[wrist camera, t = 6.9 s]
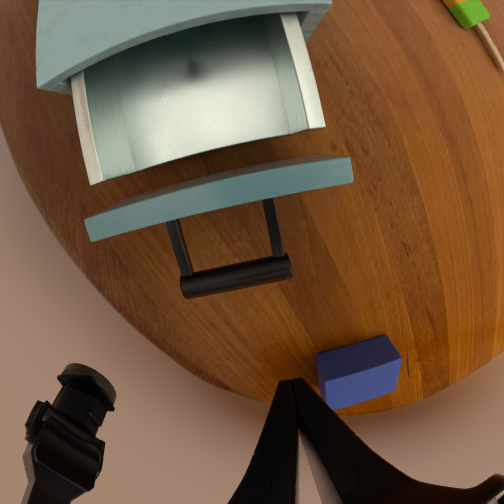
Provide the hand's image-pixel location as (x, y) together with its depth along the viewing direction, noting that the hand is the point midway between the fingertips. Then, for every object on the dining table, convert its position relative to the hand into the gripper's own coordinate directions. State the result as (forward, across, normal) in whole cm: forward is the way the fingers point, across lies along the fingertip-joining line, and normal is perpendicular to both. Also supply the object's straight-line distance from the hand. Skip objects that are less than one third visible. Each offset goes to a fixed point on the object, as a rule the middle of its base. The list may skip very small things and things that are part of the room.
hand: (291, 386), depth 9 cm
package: (+12, -7, +12) cm, 18 cm away
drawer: (+11, +2, -10) cm, 15 cm away
